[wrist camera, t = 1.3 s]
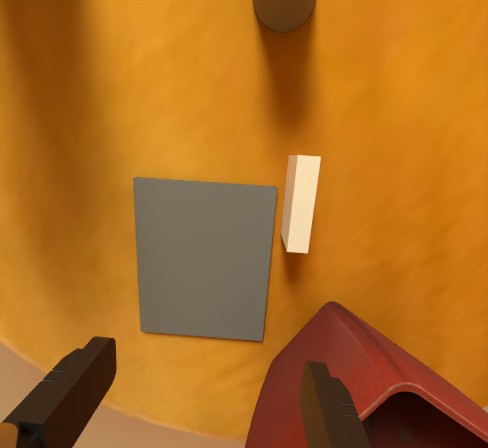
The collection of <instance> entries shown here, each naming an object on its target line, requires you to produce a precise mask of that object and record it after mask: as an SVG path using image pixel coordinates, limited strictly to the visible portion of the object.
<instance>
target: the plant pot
mask: <svg viewBox="0 0 488 448" xmlns="http://www.w3.org/2000/svg"><path fill="white" fill-rule="evenodd" d="M306 360H311V361H320V362H325V363H326V365H327V368H328V370H329V373H330V376H331V377H335V378H339V379H340V380H341V381H342V382H343V384H344V385H345V386H346V387H347V389H348V390H349V392H350V395H351V397H352V400H353V402H354V406H355V407H356V410H357V412H358V414H359V418H360V419H361V422H362V424H363V427H364V429H365V432H366V434H367V437H368V439H369V442H370V444H371V447H372V448H488V413H487V412H486V411H485V410H483V409H482V408H481V407H480V406H479V405H477V404H476V403H475V402H473V401H472V400H471V399H470V398H468V397H467V396H466V395H464V394H463V393H462V392H461V391H459V390H458V389H457V388H455V387H454V386H453V385H452V384H450V383H449V382H448V381H446V380H445V379H444V378H442V377H441V376H440V375H438V374H437V373H436V372H434V371H433V370H431V369H430V368H429V367H427V366H426V365H425V364H423V363H422V362H420V361H419V360H418V359H416V358H415V357H413V356H412V355H410V354H409V353H408V352H406V351H405V350H403V349H402V348H400V347H399V346H398V345H396V344H395V343H393V342H392V341H391V340H389V339H388V338H386V337H385V336H384V335H382V334H381V333H379V332H378V331H377V330H375V329H374V328H372V327H371V326H370V325H368V324H367V323H365V322H364V321H363V320H361V319H360V318H358V317H357V316H356V315H354V314H353V313H352V312H350V311H349V310H347V309H346V308H345V307H343V306H342V305H340V304H338V303H336V302H328V303H326V304H325V305H324V306H323V307H322V308H321V309H320V310H319V311H318V312H317V314H316V315H315V316H314V317H313V318H312V319H311V320H310V321H309V322H308V323H307V324H306V325H305V326H304V327H303V328H302V330H301V331H300V332H299V333H298V334H297V335H296V336H295V337H294V338H293V339H292V340H291V341H290V342H289V344H288V345H287V346H286V347H285V348H284V349H283V350H282V351H281V352H280V353H279V354H278V355H277V356H276V358H275V359H274V360H273V361H272V363H271V365H270V368H269V370H268V373H267V375H266V378H265V381H264V384H263V386H262V389H261V392H260V395H259V398H258V401H257V404H256V408H255V411H254V414H253V418H252V422H251V425H250V429H249V433H248V437H247V441H246V445H245V448H308V446H307V441H306V435H305V430H304V424H303V419H302V413H301V408H300V387H301V382H302V376H303V371H304V366H305V362H306Z"/></svg>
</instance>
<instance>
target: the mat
mask: <svg viewBox="0 0 488 448" xmlns="http://www.w3.org/2000/svg"><path fill="white" fill-rule="evenodd" d="M133 181H134V202H135V222H136V242H137V263H138V283H139V303H140V323H141V332H153V333H165V334H178V335H191V336H203V337H216V338H228V339H241V340H254V341H263V330H264V320H265V310H266V299H267V289H268V279H269V268H270V258H271V247H272V237H273V227H274V216H275V206H276V195H277V187H274V186H259V185H244V184H230V183H215V182H200V181H185V180H170V179H155V178H140V177H135V178H133Z"/></svg>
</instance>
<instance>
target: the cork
mask: <svg viewBox="0 0 488 448" xmlns="http://www.w3.org/2000/svg"><path fill="white" fill-rule="evenodd" d="M315 1H316V0H253V5H254V10H255V12H256V14H257V16H258V18H259V20H260V21H261V22H262V23H263V24H264V25H265V26H266V27H267V28H269V29H271V30H273V31H275V32H283V33H286V32H289V31H293V30H295V29H297V28H298V27H300V26H301V25H303V24H304V23H305V21H306V20H307V19H308V18H309V16H310V15H311V12H312V10H313V8H314V5H315Z"/></svg>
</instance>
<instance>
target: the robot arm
mask: <svg viewBox="0 0 488 448" xmlns="http://www.w3.org/2000/svg"><path fill="white" fill-rule="evenodd" d="M115 374H116V343H115V339H114V338H107V337H98V336H95V337H93V338H92V339H91V340H90V341H89V342H88V344H87V345H86V346H85V347H84V348H83V349H76V350H74V351H73V352H71V353H70V354H68V355H67V356H65V357H64V358H63V359H62V360H61V361H60V362H59V363H58V364H57V365H56V366H55V367H54V368H53V370H52V371H50V372H49V373H48V374H47V375H46V377H45V378H44V379H43V381H41V382H40V383H39V384H38V385H37V386H36V387H35V388H34V389H33V390H32V391H31V392H30V393H29V395H27V396H26V398H25V399H24V400H23V401H22V402H21V403H20V404H19V405H18V406H17V407H16V408H15V409H14V410H13V411H12V412H11V413H10V415H8V417H7V418H6V419H5V420H4V421H3V422H2V423H0V448H72V447H73V446H74V444H75V442H76V441H77V439H78V437H79V436H80V434H81V433H82V431H83V430H84V428H85V426H86V425H87V423H88V421H89V420H90V418H91V417H92V415H93V414H94V412H95V410H96V409H97V407H98V406H99V404H100V402H101V401H102V399H103V398H104V396H105V394H106V393H107V391H108V390H109V388H110V386H111V385H112V383H113V380H114V378H115ZM300 408H301V413H302V419H303V424H304V430H305V435H306V441H307V446H308V448H372V447H371V444H370V442H369V439H368V437H367V434H366V432H365V429H364V427H363V424H362V422H361V419H360V418H359V414H358V412H357V410H356V407H355V406H354V402H353V400H352V397H351V395H350V392H349V390H348V389H347V387H346V386H345V385H344V384H343V382H342V381H341V380H340V379H339V378H335V377H331V376H330V373H329V370H328V368H327V365H326V363H325V362H320V361H311V360H306V362H305V366H304V371H303V376H302V382H301V387H300Z"/></svg>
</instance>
